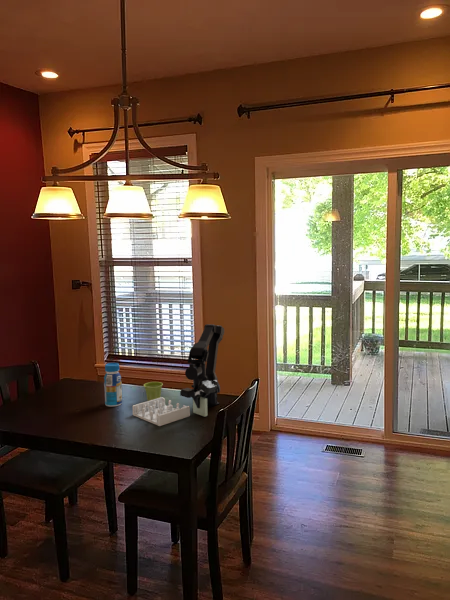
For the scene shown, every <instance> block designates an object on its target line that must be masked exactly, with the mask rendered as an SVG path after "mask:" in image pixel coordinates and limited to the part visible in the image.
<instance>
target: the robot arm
mask: <svg viewBox="0 0 450 600" xmlns="http://www.w3.org/2000/svg"><path fill="white" fill-rule="evenodd" d="M224 335H225V327H223V326H222V325H216V324H214V323H213V324H212V323H211V324H210V323H209V324H204V327H203V331H202V332H201V335H200V338H199V339H198V341H197V342H196V343H194V344H193V345H192V347H191V348H190V350H189V354H188V359H187V363H188V364H189V365H188V367H187V368H186V369H185V372H184V374H185V377H186V379H188V380H190V381H192V383H193V384H191V388H190V387H185V388H182V389H180V390H179V392H180V393H179V394H180V397H184V398H187V399H191V398H192V401H193V400H194V402H195V404H196V406H197V408H200V397H204V398H207V407H210V408H211V407H213V406H217V405H220V402H218V394H219V393H220V392H221V386H220V383H219V381H218V379H219V378H218V377H217V373H216V369H217V361H218V352H219V344H220V343H221V342H222V340H223V337H224Z"/></svg>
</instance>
